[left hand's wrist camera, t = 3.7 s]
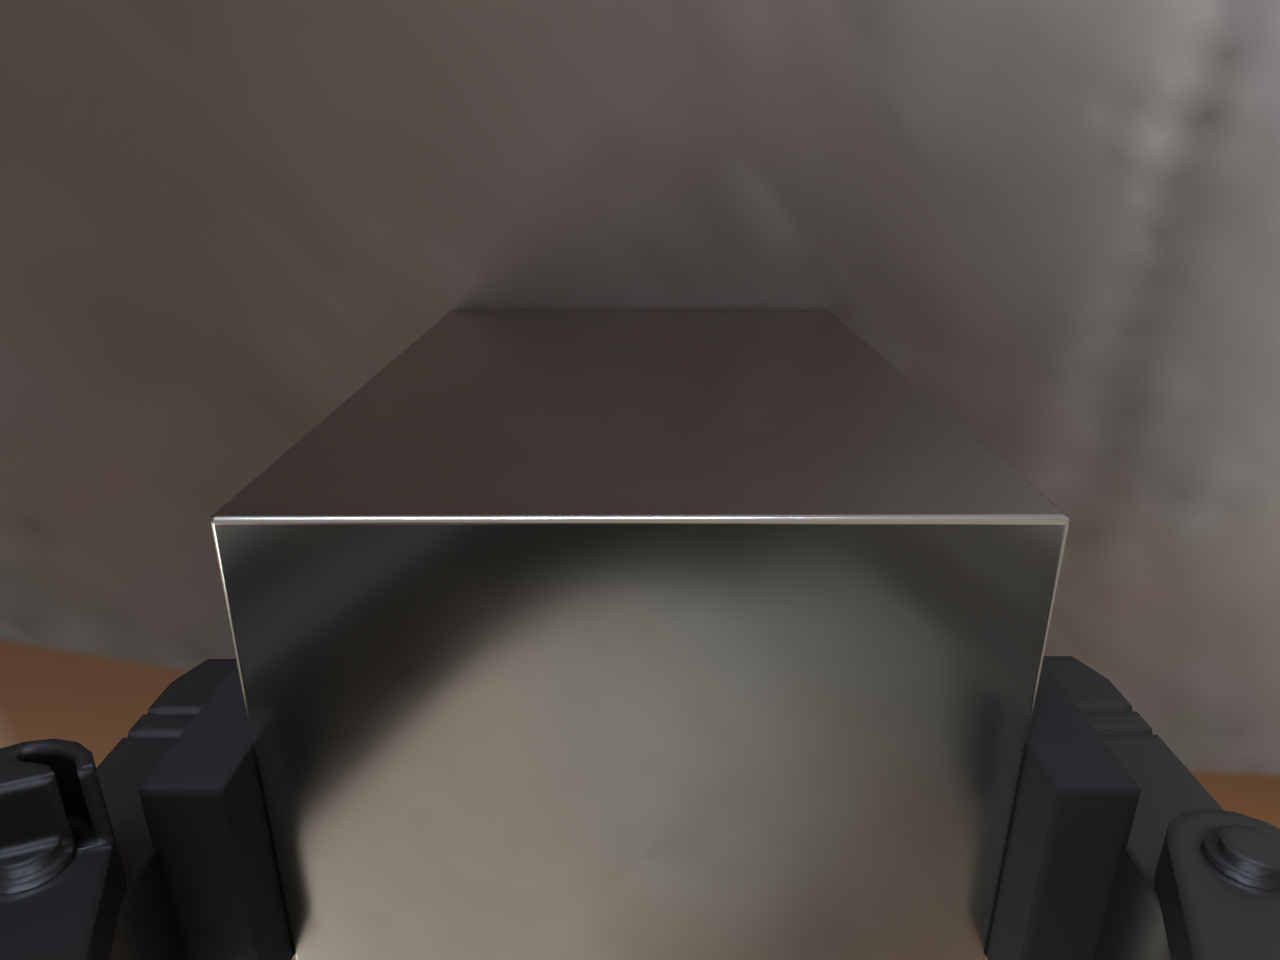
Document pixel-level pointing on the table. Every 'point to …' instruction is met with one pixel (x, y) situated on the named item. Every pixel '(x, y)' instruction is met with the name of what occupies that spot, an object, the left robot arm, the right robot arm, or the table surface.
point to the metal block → (639, 648)
